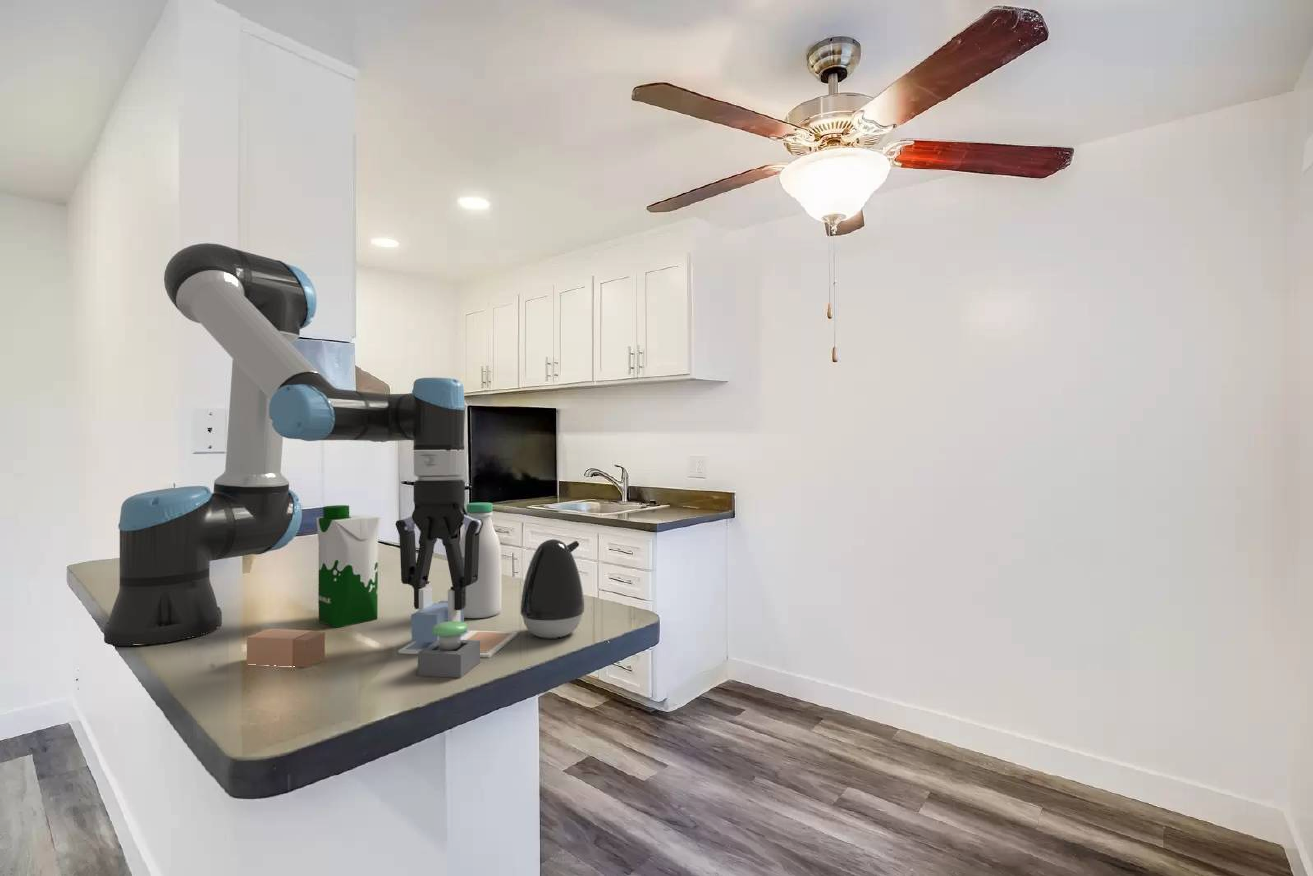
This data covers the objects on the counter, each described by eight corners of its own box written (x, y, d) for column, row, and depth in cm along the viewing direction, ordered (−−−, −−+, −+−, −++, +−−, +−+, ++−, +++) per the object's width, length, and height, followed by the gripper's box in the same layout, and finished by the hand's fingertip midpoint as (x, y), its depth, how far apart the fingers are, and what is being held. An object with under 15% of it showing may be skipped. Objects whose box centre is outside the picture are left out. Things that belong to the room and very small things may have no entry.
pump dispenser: (598, 633, 102) (598, 538, 102) (546, 648, 94) (546, 546, 94) (559, 621, 109) (559, 533, 109) (507, 634, 101) (507, 539, 101)
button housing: (417, 675, 83) (417, 652, 83) (439, 660, 89) (439, 638, 89) (460, 677, 82) (460, 654, 82) (480, 662, 88) (480, 640, 88)
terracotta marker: (246, 666, 87) (246, 637, 87) (268, 656, 91) (268, 628, 91) (305, 669, 86) (305, 639, 86) (325, 659, 90) (325, 631, 90)
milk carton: (310, 621, 109) (311, 505, 110) (363, 610, 116) (363, 502, 117) (332, 630, 104) (333, 509, 104) (386, 619, 111) (386, 505, 111)
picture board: (398, 653, 92) (398, 649, 92) (435, 631, 103) (435, 628, 103) (489, 657, 90) (489, 654, 90) (517, 635, 101) (517, 631, 101)
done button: (426, 651, 84) (426, 629, 84) (442, 640, 88) (442, 620, 88) (457, 652, 83) (457, 631, 83) (472, 642, 87) (472, 622, 87)
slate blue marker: (437, 642, 92) (436, 614, 92) (411, 641, 92) (411, 614, 93) (464, 625, 101) (464, 600, 101) (441, 625, 101) (441, 600, 101)
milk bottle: (507, 608, 117) (507, 501, 118) (492, 620, 110) (492, 505, 110) (467, 607, 118) (467, 501, 118) (449, 619, 110) (450, 504, 111)
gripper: (374, 479, 95) (374, 635, 94) (481, 479, 92) (482, 639, 92) (401, 477, 102) (401, 622, 102) (501, 477, 100) (502, 625, 99)
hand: (439, 630), depth 97 cm, fingers closed on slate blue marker, 4 cm apart
